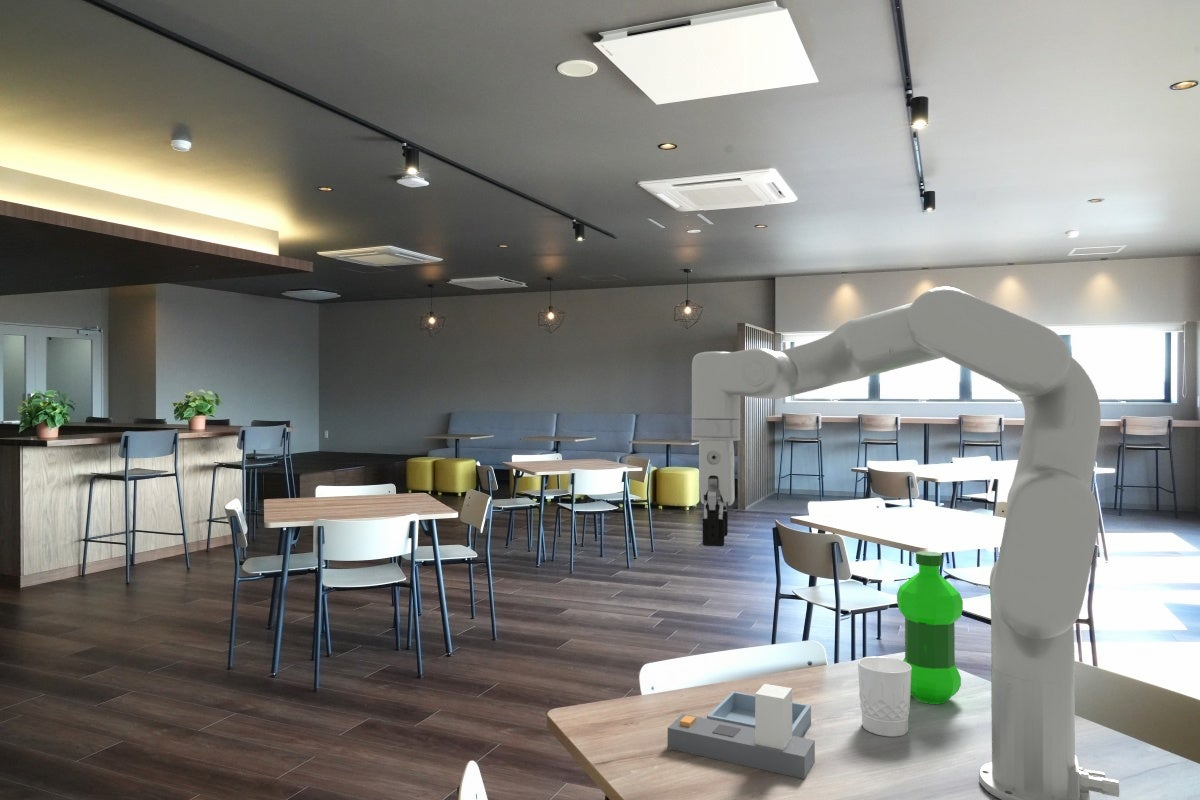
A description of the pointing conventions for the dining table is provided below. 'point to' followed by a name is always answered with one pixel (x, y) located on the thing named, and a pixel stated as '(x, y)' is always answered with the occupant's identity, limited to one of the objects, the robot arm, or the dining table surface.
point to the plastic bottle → (930, 630)
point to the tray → (742, 712)
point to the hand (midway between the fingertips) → (715, 540)
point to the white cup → (884, 695)
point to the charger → (773, 716)
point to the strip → (739, 746)
